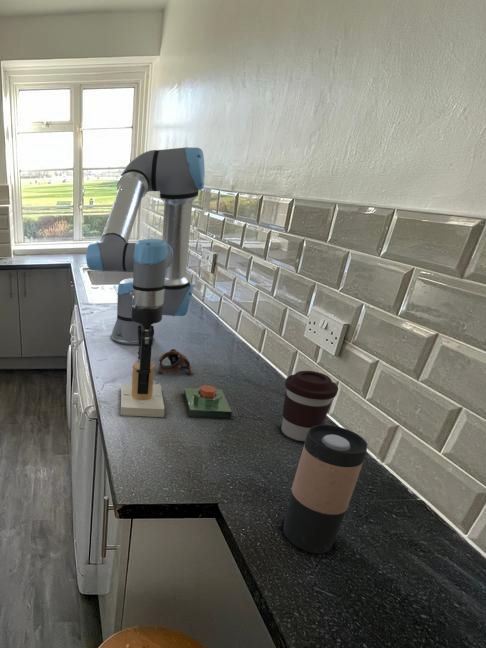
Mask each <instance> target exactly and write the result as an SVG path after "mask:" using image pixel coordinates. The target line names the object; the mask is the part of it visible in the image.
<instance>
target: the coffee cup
mask: <svg viewBox="0 0 486 648" xmlns="http://www.w3.org/2000/svg"><path fill="white" fill-rule="evenodd" d="M284 387H285V388H286V391H285V394H284V400H283V407H282V421H281V428H280V429H281V432H282V434H284V435H285V436H286V437H288V438H290V439H292V440H295V441H298V442H305V440H306V437H307V433H308V431H309V429H310V428H311V427H313V426H317V425H324V423H325V420H326V417H327V415H328V412H329V410H330V408H331V405H332V399H334V398H335V397H336V396H337V395H338V393H339V392H338V391H339V386H338V384H336V383H335V382H333V381H332V378H331V377H330V376H328V375H326V374H325V373H322V372H319V371H313V370H300V371H297V372H296V373H293V374H291V375H288V376H287V377H286V378H285V381H284Z"/></svg>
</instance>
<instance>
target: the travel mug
mask: <svg viewBox="0 0 486 648" xmlns="http://www.w3.org/2000/svg"><path fill="white" fill-rule="evenodd" d="M367 452H368V442H367V441H366V439H365V438H363V437H362V436H361V435H360V434H358V433H356V432H354V431H352V430H350V429H347V428H343V427H340V426H336V425H330V424H323V425H317V426H313V427H311V428H310V429H309V431H308V433H307V437H306V440H305V441H304V444H303V447H302V452H301V454H300V458H299V462H298V465H297V468H296V472H295V476H294V479H293V483H292V486H291V490H290V495H289V499H288V504H287V507H286V511H285V512H286V513H285V518H284V522H283V528H282V531H283V534H284V536H285V537H286V539H287V540H288V541H289V542H290V543H291V544H292V545H294V546H295V547H297V548H299V549H300V550H303V551H304V552H308V553H311V554H324V553H327V552H329V551H330V550H331V548H332V547H333V544H334V542H335V540H336V537H337V535H338V533H339V530H340V527H341V525H342V522H343V520H344V518H345V516H346V513H347V511H348V508H349V505H350V502H351V499H352V496H353V493H354V490H355V487H356V484H357V481H358V478H359V475H360V473H361V470H362V466H363V464H364V461H365V459H366V455H367Z"/></svg>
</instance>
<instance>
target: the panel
mask: <svg viewBox="0 0 486 648" xmlns="http://www.w3.org/2000/svg"><path fill="white" fill-rule="evenodd" d="M161 385H162V384H157V383H153V392H152V397H151V398H150V399H147V400H139V399H135V398H134V397H132V395H131V391H132V382H121V387H120V388H121V389H120V390H121V391H120V416H131V417H147V418H148V417H150V418H151V417H152V418H165V410H166V409H165V402H164V398H163V392H162V391H163V390H162V386H161Z"/></svg>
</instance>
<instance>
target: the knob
mask: <svg viewBox="0 0 486 648" xmlns="http://www.w3.org/2000/svg"><path fill="white" fill-rule="evenodd" d="M139 368H140V360H137V361H135V362H133V363H132V373H131V383H132V391H131V395H132V397H134V398H135V399H139V400H147V399H150V398H151V397H152V392H153V384H154V380H155V379H154V376H155V364H154V363H153V362H151V363H150V374H149V386H148V394H137V390H138V372H136V370H139Z"/></svg>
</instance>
